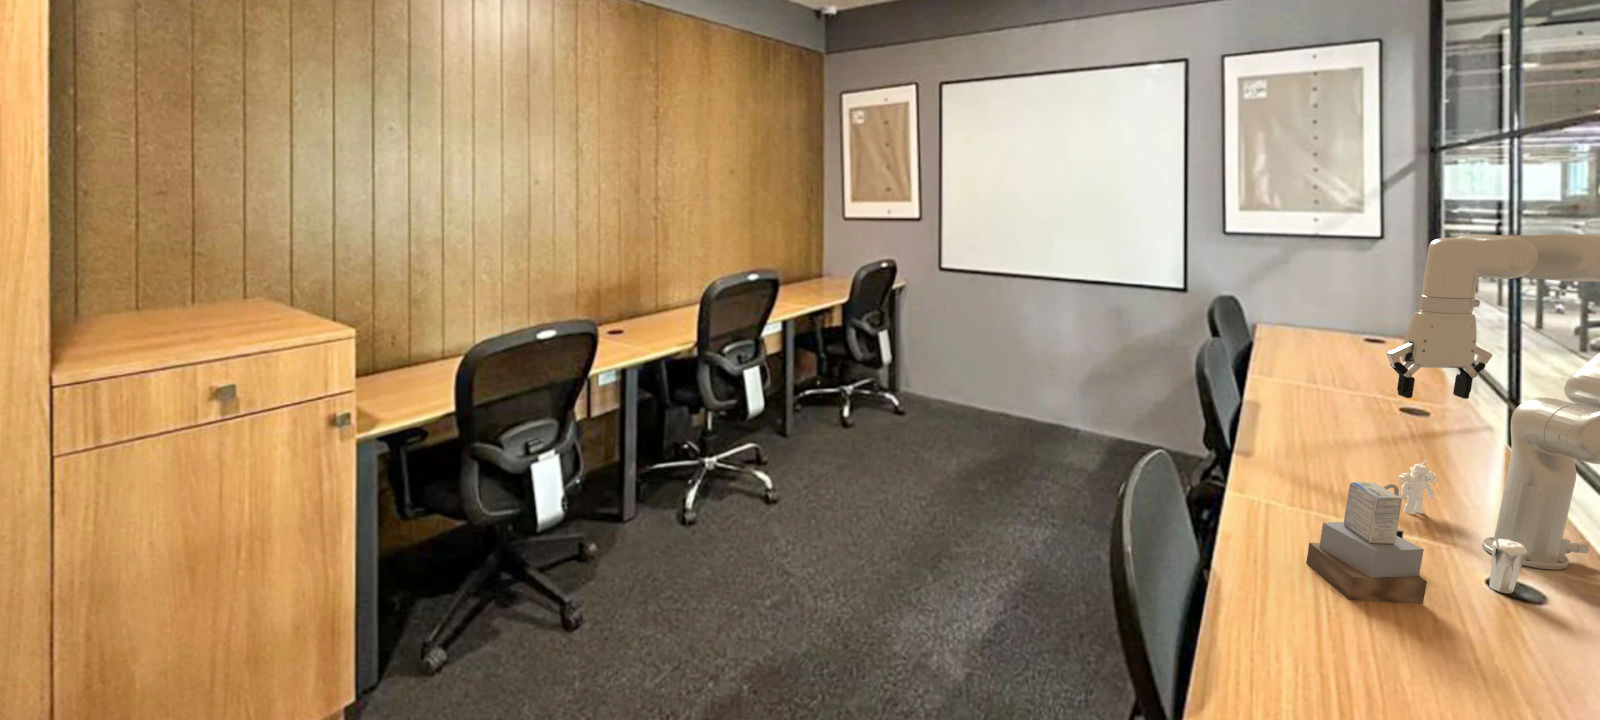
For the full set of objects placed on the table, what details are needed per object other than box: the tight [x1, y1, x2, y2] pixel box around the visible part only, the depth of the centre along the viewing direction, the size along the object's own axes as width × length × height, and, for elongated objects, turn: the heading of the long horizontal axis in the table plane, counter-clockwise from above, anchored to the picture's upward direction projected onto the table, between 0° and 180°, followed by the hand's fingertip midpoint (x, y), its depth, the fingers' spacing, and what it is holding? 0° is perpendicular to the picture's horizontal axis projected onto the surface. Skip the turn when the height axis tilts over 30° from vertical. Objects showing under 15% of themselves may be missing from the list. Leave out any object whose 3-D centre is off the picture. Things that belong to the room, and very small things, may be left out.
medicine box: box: [1343, 481, 1403, 544], centre depth 140 cm, size 8×4×9 cm, turn 175°
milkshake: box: [1488, 537, 1527, 594], centre depth 140 cm, size 4×5×10 cm
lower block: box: [1305, 542, 1428, 605], centre depth 142 cm, size 12×14×5 cm
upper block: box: [1319, 521, 1425, 578], centre depth 141 cm, size 9×12×5 cm
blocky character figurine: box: [1398, 458, 1439, 516], centre depth 174 cm, size 9×4×12 cm, turn 102°
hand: (1432, 396), depth 147 cm, fingers open, 9 cm apart
